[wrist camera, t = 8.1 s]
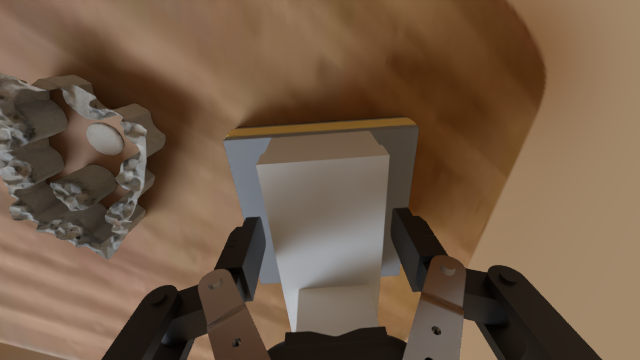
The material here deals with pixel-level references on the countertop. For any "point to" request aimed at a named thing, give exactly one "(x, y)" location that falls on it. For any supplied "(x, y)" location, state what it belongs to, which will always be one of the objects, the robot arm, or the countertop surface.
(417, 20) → the countertop surface
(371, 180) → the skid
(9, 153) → the egg carton
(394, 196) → the dock
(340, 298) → the block
